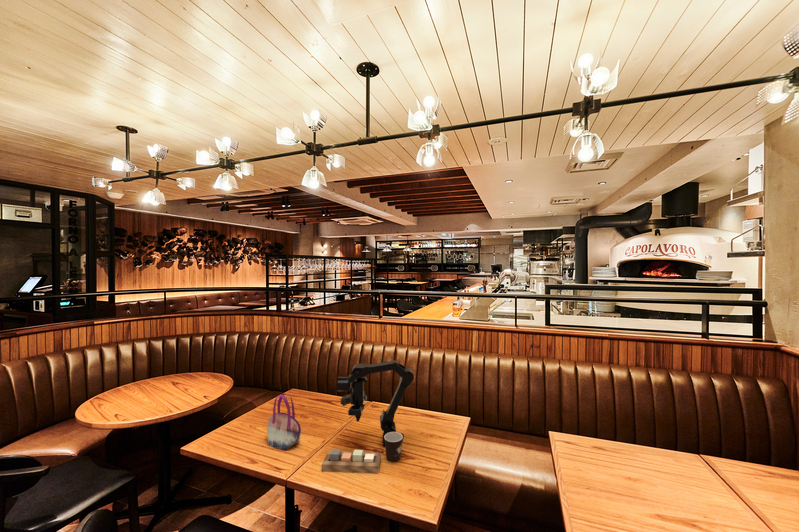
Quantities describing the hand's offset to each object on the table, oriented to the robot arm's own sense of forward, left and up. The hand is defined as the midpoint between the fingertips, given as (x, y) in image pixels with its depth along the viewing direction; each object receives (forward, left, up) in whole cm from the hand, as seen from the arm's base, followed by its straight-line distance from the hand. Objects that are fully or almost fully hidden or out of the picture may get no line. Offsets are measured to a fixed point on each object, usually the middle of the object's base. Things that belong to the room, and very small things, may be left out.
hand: (358, 421), depth 157 cm
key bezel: (0, +16, -12) cm, 20 cm away
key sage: (-3, +16, -10) cm, 19 cm away
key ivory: (-8, +16, -12) cm, 21 cm away
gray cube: (+7, +16, -10) cm, 20 cm away
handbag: (+38, +1, -12) cm, 40 cm away
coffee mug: (-20, +9, -12) cm, 25 cm away
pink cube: (+2, +16, -12) cm, 20 cm away
